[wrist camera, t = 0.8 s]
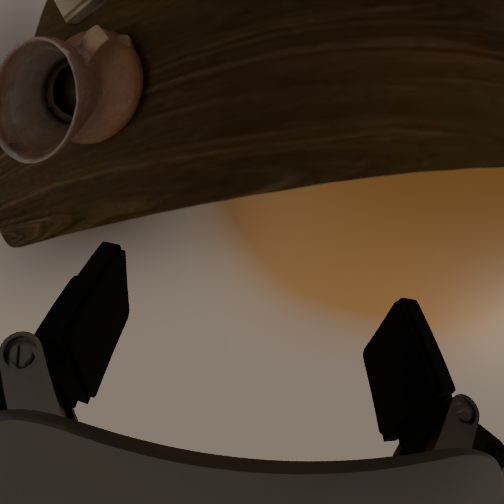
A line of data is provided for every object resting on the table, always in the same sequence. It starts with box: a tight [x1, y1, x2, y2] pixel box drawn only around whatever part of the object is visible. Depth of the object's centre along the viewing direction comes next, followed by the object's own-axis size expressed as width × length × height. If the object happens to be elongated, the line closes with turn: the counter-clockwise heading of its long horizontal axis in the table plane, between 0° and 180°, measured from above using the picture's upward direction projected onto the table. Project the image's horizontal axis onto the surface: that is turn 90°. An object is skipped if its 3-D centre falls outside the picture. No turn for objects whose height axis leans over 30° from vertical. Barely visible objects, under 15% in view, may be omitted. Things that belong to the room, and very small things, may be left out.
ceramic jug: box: [0, 25, 144, 163], centre depth 25 cm, size 18×14×14 cm
